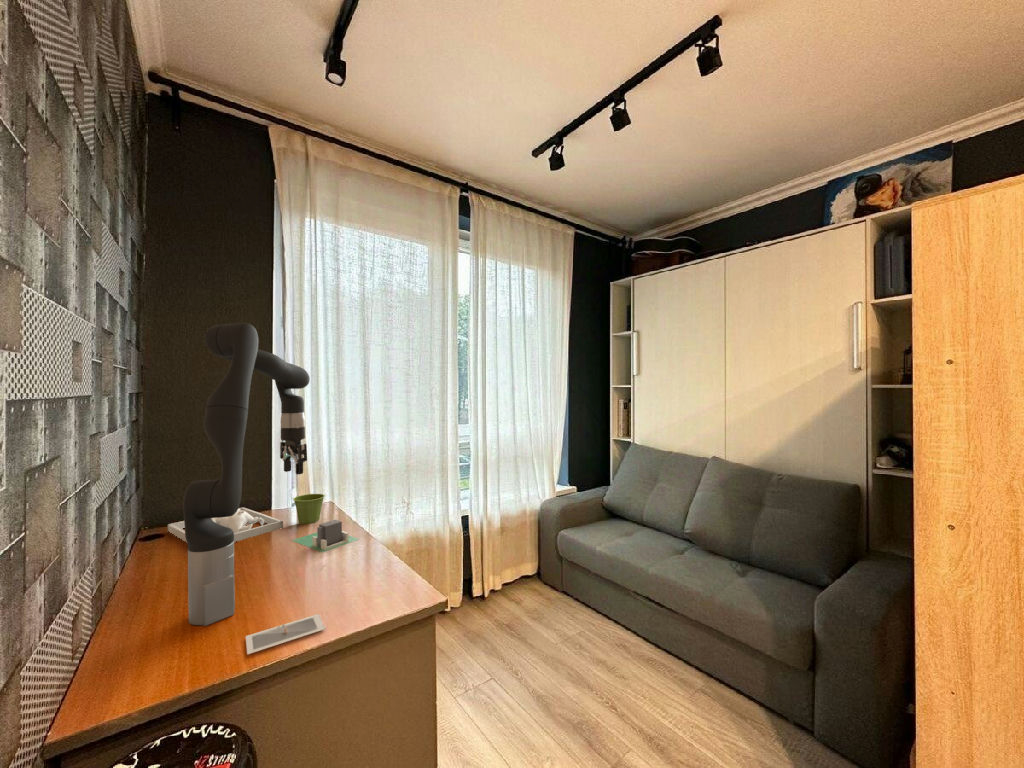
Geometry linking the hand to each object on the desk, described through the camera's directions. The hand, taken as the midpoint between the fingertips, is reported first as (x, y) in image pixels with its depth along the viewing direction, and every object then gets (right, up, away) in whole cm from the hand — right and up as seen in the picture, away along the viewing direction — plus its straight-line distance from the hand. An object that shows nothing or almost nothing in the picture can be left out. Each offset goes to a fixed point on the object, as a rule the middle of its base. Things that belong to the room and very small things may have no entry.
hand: (293, 472), depth 142 cm
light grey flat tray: (-38, -27, +21) cm, 51 cm away
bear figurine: (-33, -28, +16) cm, 46 cm away
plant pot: (-7, -27, +26) cm, 38 cm away
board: (+9, -27, +5) cm, 28 cm away
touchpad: (+25, -27, -50) cm, 62 cm away
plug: (+13, -25, +1) cm, 28 cm away
